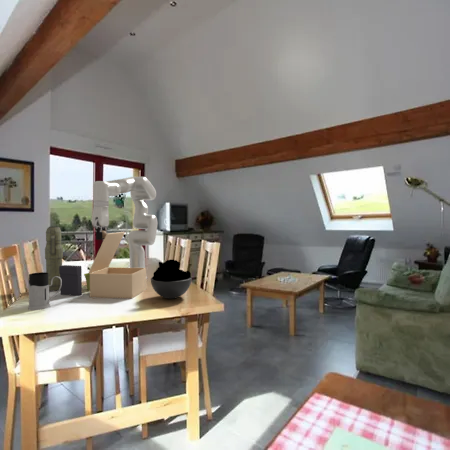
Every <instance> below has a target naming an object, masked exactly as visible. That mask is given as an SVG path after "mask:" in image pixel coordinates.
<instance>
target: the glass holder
mask: <svg viewBox="0 0 450 450" xmlns="http://www.w3.org/2000/svg"><path fill="white" fill-rule="evenodd" d="M55 277H58V276H55ZM55 277H53V278H52V280H51V285H52V281H53V279H54V278H55ZM58 278H59V279H60V281H61V284H60V288H59V290H58V291H56V293H55V294H54V295H53V296H52V297H50V291H49V286H51V285H49V284H48V273H46V271H43V272H40V271H39V272H33V273H29V274H28V307H27V309H28V310H29V311H38V310H44V309H48V308H50V307H51V303H50V301H51V300H52V299H53V298H54V297H56V296H57V295H58V293H60V289H61V285H62V280H61V278H60V277H58Z"/></svg>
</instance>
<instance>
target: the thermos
mask: <svg viewBox="0 0 450 450" xmlns="http://www.w3.org/2000/svg"><path fill="white" fill-rule="evenodd" d="M45 241H46V243H45V248H44V259H45V263H46V264H45V272H46V273H48V284H49V285H51V280H52V278H53V277H55V276H58V277H60V274H59V266H63V258H64V247H63V245H62V230H61V227H59V226H49V227H47V228H46V230H45ZM58 277H55V278H54V279H53V281H52V285H51V286H49V292H58V290H59V288H60V279H59V278H58Z"/></svg>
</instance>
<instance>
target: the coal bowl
mask: <svg viewBox="0 0 450 450" xmlns="http://www.w3.org/2000/svg"><path fill="white" fill-rule="evenodd" d="M180 268H181V262H180V261H179V260H177V259H167V260H166V261H164V262H161V261H159V262H158V267H157V269H156V270H155V271H154V272H153V275H152V277H151V278H150V284H151V286H152V288H153V290H154V291H155V292H156V294H158V296H160V297H162V298H165V299H177V298H179V297H181V296H183V295H184V294H185V293H186V292H187V291H188V290H189V289H190V287H191V284H192V273H191V272H190V270H186V271H184V270H183V269H180Z"/></svg>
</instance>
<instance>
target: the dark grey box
mask: <svg viewBox="0 0 450 450" xmlns="http://www.w3.org/2000/svg"><path fill="white" fill-rule="evenodd" d="M82 271H83V270H82V266H81V265H69V264H62V266H59V274H60V278H61V280H62V285H61V289H60V291H59V293H60V295H63V296H73V297H77V296H81V295H82V294H83V288H82V286H83V285H82V279H83V277H82V276H83V275H82V273H83V272H82ZM60 284H61V281H60Z"/></svg>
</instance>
